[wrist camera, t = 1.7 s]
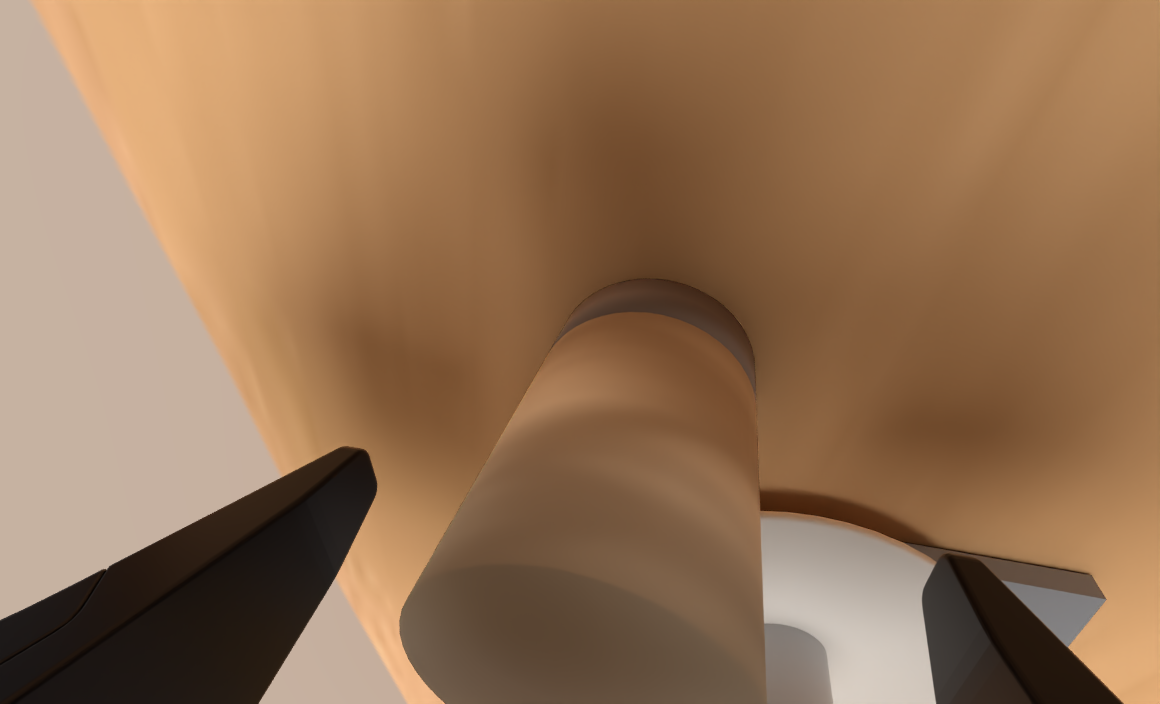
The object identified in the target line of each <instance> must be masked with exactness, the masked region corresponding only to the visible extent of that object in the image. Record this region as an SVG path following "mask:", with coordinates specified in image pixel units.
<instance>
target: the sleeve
mask: <svg viewBox="0 0 1160 704" xmlns="http://www.w3.org/2000/svg"><path fill="white" fill-rule="evenodd" d="M399 622H400V636H401V640H402V644H403V647H404V650H405V652H406V654H407V657H408V659H409V661H410V662H411V664H412V666H413V667H414V669H415V670H416V672H417V673H418V675H419V676H420V677H421V678H422V680H423V681H424V682H425V684H426V685H427V686H428V687H429V688H430V689H431V690H432V691H433V692H434V693H435V694H436V695H437V696H438V697H439V698H440V699H441V700H442V701H443V702H444V703H445V704H767V691H766V663H765V635H764V606H763V578H762V550H761V522H760V494H759V466H758V437H757V409H756V381H755V361H754V355H753V351H752V347H751V344H750V342H749V339H748V337H747V335H746V333H745V332H744V330H743V328H742V326H741V325H740V324H739V322H738V321H737V320H736V319H735V317H734V316H733V315H732V314H731V313H730V312H729V311H728V310H727V309H726V308H725V307H724V306H723V305H721V304H720V303H719V302H717V301H716V300H715V299H713V298H712V297H710V296H708V295H707V294H705V293H703V292H701V291H699V290H697V289H695V288H692V287H690V286H687V285H684V284H681V283H677V282H673V281H667V280H661V279H636V280H628V281H624V282H619V283H616V284H613V285H610V286H608V287H605V288H603V289H601V290H599V291H597V292H595V293H594V294H592V295H591V296H589V297H588V298H587V299H585V300H584V301H583V302H582V303H581V304H580V305H579V306H578V307H577V308H576V309H575V310H574V311H573V313H572V314H571V315H570V317H569V318H568V320H567V322H566V324H565V325H564V327H563V329H562V330H561V332H560V334H559V336H558V337H557V339H556V341H555V343H554V344H553V346H552V348H551V350H550V351H549V353H548V355H547V357H546V358H545V360H544V362H543V363H542V365H541V367H540V369H539V370H538V372H537V374H536V376H535V377H534V379H533V381H532V383H531V384H530V386H529V388H528V390H527V391H526V393H525V395H524V397H523V398H522V400H521V402H520V403H519V405H518V407H517V409H516V410H515V412H514V414H513V416H512V417H511V419H510V421H509V423H508V424H507V426H506V428H505V430H504V431H503V433H502V435H501V436H500V438H499V440H498V442H497V443H496V445H495V447H494V449H493V450H492V452H491V454H490V456H489V457H488V459H487V461H486V463H485V464H484V466H483V468H482V470H481V471H480V473H479V475H478V476H477V478H476V480H475V482H474V483H473V485H472V487H471V489H470V490H469V492H468V494H467V496H466V497H465V499H464V501H463V503H462V504H461V506H460V508H459V509H458V511H457V513H456V515H455V516H454V518H453V520H452V522H451V523H450V525H449V527H448V529H447V530H446V532H445V534H444V536H443V537H442V539H441V541H440V543H439V544H438V546H437V548H436V549H435V551H434V553H433V555H432V556H431V558H430V560H429V562H428V563H427V565H426V567H425V569H424V570H423V572H422V574H421V576H420V577H419V579H418V581H417V582H416V584H415V586H414V588H413V589H412V591H411V593H410V595H409V596H408V598H407V600H406V602H405V604H404V606H403V608H402V611H401V616H400V621H399Z"/></svg>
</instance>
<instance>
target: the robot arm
mask: <svg viewBox="0 0 1160 704" xmlns="http://www.w3.org/2000/svg"><path fill="white" fill-rule="evenodd" d="M376 492H377V480H376V476H375V473H374V470H373V466H372V463H371V460H370V456H369V454H368V453H367V451H366V450H364V449H360V448H354V447H348V446H344V447H340V448H338V449H336V450H334V451H332V452H330V453H328V454H326V455H324V456H322V457H321V458H319V459H317V460H315V461H313V462H311V463H309V464H307V465H305V466H303V467H301V468H299V469H297V470H295V471H293V472H291V473H289V474H287V475H286V476H284V477H282V478H280V479H278V480H276V481H274V482H272V483H270V484H268V485H266V486H264V487H262V488H260V489H259V490H256V491H254V492H253V493H251V494H249V495H247V496H245V497H243V498H241V499H239V500H237V501H235V502H233V503H231V504H229V505H227V506H225V507H223V508H221V509H219V510H218V511H216V512H214V513H212V514H210V515H208V516H206V517H204V518H202V519H200V520H198V521H196V522H194V523H192V524H190V525H188V526H186V527H184V528H182V529H181V530H179V531H177V532H175V533H173V534H171V535H169V536H167V537H165V538H163V539H161V540H159V541H157V542H155V543H153V544H151V545H149V546H147V547H146V548H144V549H142V550H140V551H138V552H136V553H134V554H132V555H130V556H128V557H126V558H124V559H122V560H120V561H118V562H116V563H114V564H112V565H111V566H109V568H108V569H107V570H106V569H103V570H101V571H99V572H97V573H95V574H93V575H91V576H89V577H87V578H85V579H83V580H81V581H79V582H77V583H75V584H73V585H72V586H69V587H68V588H65V589H64V590H61V591H59V592H58V593H55V594H53V595H51V596H49V597H47V598H45V599H44V600H41V601H39V602H37V603H35V604H33V605H32V606H29V607H27V608H25V609H23V610H21V611H19V612H17V613H14V614H12V615H10V616H8V617H6V618H4V619H2V620H0V704H259V702H260V700H261V699H262V697H263V695H264V694H265V692H266V691H267V689H268V687H269V686H270V684H271V682H272V680H273V679H274V677H275V676H276V674H277V672H278V671H279V669H280V668H281V666H282V664H283V663H284V661H285V659H286V658H287V656H288V654H289V653H290V651H291V650H292V648H293V646H294V644H295V643H296V641H297V640H298V638H299V637H300V635H301V633H302V632H303V630H304V628H305V627H306V625H307V623H308V622H309V620H310V619H311V617H312V615H313V614H314V612H315V610H316V609H317V607H318V605H319V604H320V602H321V601H322V599H323V597H324V596H325V594H326V592H327V591H328V589H329V587H330V586H331V584H332V582H333V581H334V579H335V577H336V575H337V573H338V572H339V570H340V568H341V566H342V564H343V562H344V560H345V558H346V556H347V554H348V552H349V550H350V548H351V546H352V543H353V541H354V539H355V537H356V535H357V533H358V531H359V529H360V527H361V525H362V523H363V521H364V519H365V517H366V515H367V513H368V511H369V508H370V506H371V504H372V502H373V500H374V498H375V496H376ZM922 609H923V616H924V623H925V630H926V637H927V644H928V651H929V658H930V666H931V673H932V680H933V687H934V694H935V701H936V704H1124V703H1123V702H1122V701H1121V700H1120V699H1119V698H1118V697H1117V696H1116V695H1115V694H1114V693H1113V692H1112V691H1111V690H1110V689H1109V688H1108V687H1107V686H1106V685H1105V684H1104V683H1103V682H1102V681H1101V680H1100V679H1099V678H1098V677H1097V676H1096V675H1095V674H1094V673H1093V672H1092V671H1091V670H1090V669H1089V668H1088V667H1087V666H1086V665H1085V664H1084V663H1083V662H1082V661H1081V660H1080V659H1079V658H1078V657H1077V656H1076V655H1075V654H1074V653H1073V652H1072V651H1071V650H1070V649H1069V648H1068V647H1067V646H1066V645H1065V644H1064V643H1063V642H1062V641H1061V640H1060V639H1059V638H1058V637H1057V636H1056V635H1055V634H1054V633H1053V632H1052V631H1051V630H1050V629H1049V628H1048V627H1047V626H1046V625H1045V624H1044V623H1043V622H1042V621H1041V620H1040V619H1039V618H1038V617H1037V616H1036V615H1035V614H1034V613H1033V612H1032V611H1031V610H1030V609H1029V608H1028V607H1027V606H1026V605H1025V604H1024V603H1023V602H1022V601H1021V600H1020V599H1019V598H1018V597H1017V596H1016V595H1015V594H1014V593H1013V592H1012V591H1011V590H1010V589H1009V588H1008V587H1007V586H1006V585H1005V584H1004V583H1003V582H1002V581H1001V580H1000V579H999V578H998V577H997V576H996V575H995V574H994V573H993V572H992V571H991V570H990V569H989V568H988V567H987V566H986V565H985V564H984V563H983V562H982V561H980V560H979V559H977V558H974V557H970V556H965V555H959V554H953V553H944V554H942V555H941V556H940V557H939V559H938V560H937V562H936V564H935V566H934V568H933V570H932V572H931V574H930V576H929V578H928V580H927V582H926V584H925V586H924V588H923V592H922Z"/></svg>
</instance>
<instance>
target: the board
mask: <svg viewBox="0 0 1160 704" xmlns="http://www.w3.org/2000/svg"><path fill="white" fill-rule="evenodd" d="M760 522H761V550H762V578H763V606H764V635H765V663H766V691H767V704H936V701H935V694H934V687H933V680H932V673H931V666H930V658H929V651H928V644H927V637H926V630H925V623H924V616H923V609H922V592H923V588H924V586H925V584H926V582H927V580H928V578H929V576H930V574H931V572H932V570H933V568H934V566H935V564H936V562H937V560H938V559H939V557H940V556H941V555H942V554H944V553H953V554H959V555H965V556H970V557H974V558H977V559H979V560H980V561H982V562H983V563H984V564H985V565H986V566H987V567H988V568H989V569H990V570H991V571H992V572H993V573H994V574H995V575H996V576H997V577H998V578H999V579H1000V580H1001V581H1002V582H1003V583H1004V584H1005V585H1006V586H1007V587H1008V588H1009V589H1010V590H1011V591H1012V592H1013V593H1014V594H1015V595H1016V596H1017V597H1018V598H1019V599H1020V600H1021V601H1022V602H1023V603H1024V604H1025V605H1026V606H1027V607H1028V608H1029V609H1030V610H1031V611H1032V612H1033V613H1034V614H1035V615H1036V616H1037V617H1038V618H1039V619H1040V620H1041V621H1042V622H1043V623H1044V624H1045V625H1046V626H1047V627H1048V628H1049V629H1050V630H1051V631H1052V632H1053V633H1054V634H1055V635H1056V636H1057V637H1058V638H1059V639H1060V640H1061V641H1062V642H1063V643H1064V644H1065V645H1066V646H1067V647H1068V646H1069V645H1070V644H1071V642H1072V641H1073V640H1074V639H1075V638H1076V636H1077V635H1078V634H1079V633H1080V631H1081V630H1082V629H1083V628H1084V626H1085V625H1086V624H1087V623H1088V622H1089V620H1090V619H1091V618H1092V617H1093V615H1094V614H1095V613H1096V612H1097V611H1098V609H1099V608H1100V607H1101V606H1102V604H1103V603H1104V602H1105V601H1106V598H1105V596H1104V595H1103V593H1102V591H1101V590H1100V588H1099V587H1098V585H1097V583H1096V582H1095V580H1094V579H1093V577H1092V575H1086V574H1080V573H1075V572H1069V571H1063V570H1058V569H1052V568H1046V567H1041V566H1035V565H1029V564H1023V563H1018V562H1012V561H1006V560H1001V559H995V558H989V557H984V556H978V555H972V554H966V553H961V552H955V551H949V550H944V549H938V548H932V547H927V546H921V545H915V544H909V543H904V542H900V541H898V540H895V539H893V538H891V537H888V536H886V535H884V534H881V533H879V532H876V531H873V530H870V529H867V528H864V527H860V526H857V525H854V524H851V523H848V522H843V521H838V520H834V519H829V518H825V517H820V516H815V515H807V514H799V513H791V512H776V511H760Z"/></svg>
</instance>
